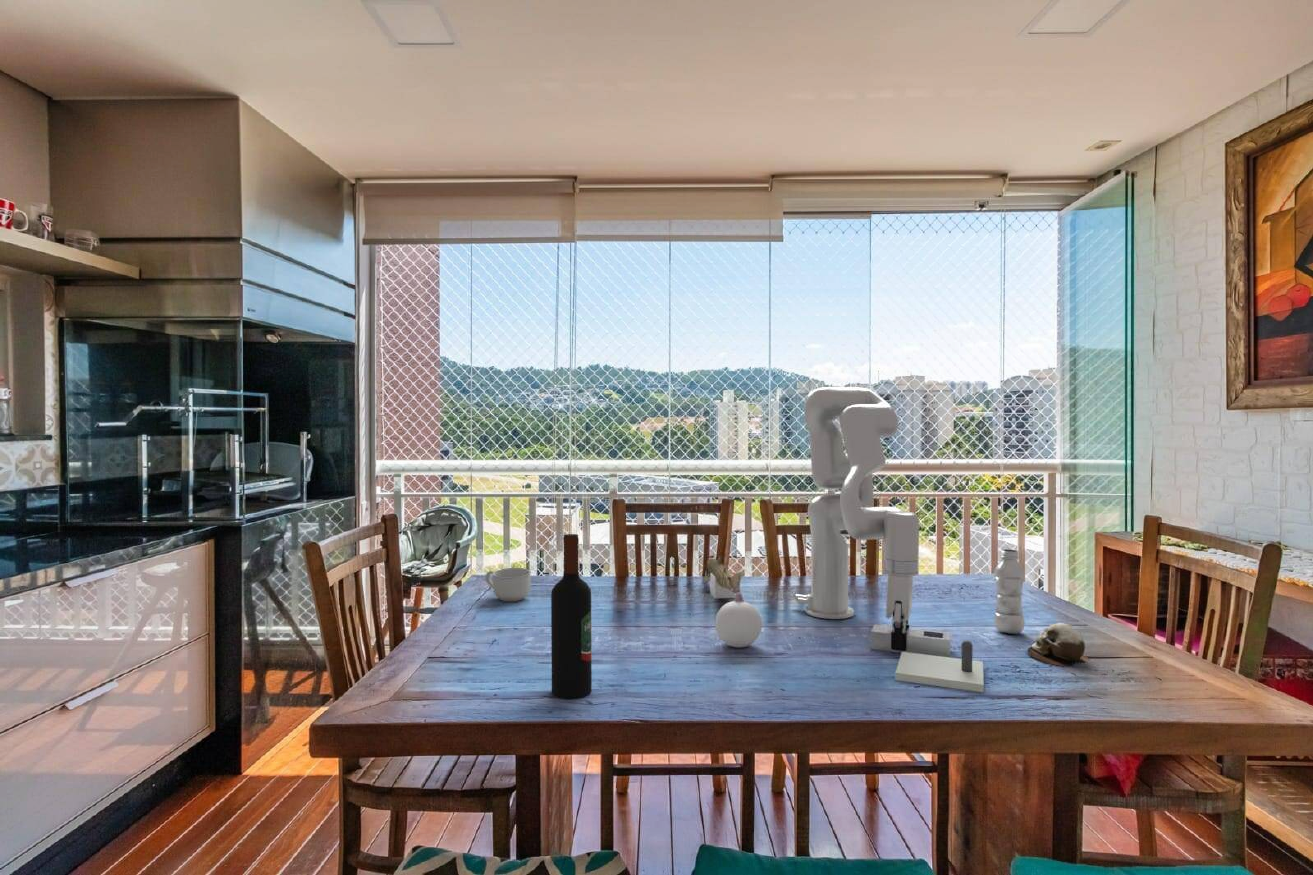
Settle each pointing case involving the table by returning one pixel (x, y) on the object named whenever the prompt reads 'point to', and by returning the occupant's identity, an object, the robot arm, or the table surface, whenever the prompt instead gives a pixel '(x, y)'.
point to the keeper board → (942, 670)
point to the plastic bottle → (1009, 593)
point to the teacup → (510, 583)
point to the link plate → (913, 641)
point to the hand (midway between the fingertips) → (900, 644)
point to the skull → (1059, 646)
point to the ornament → (738, 623)
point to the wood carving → (722, 580)
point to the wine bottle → (571, 629)
